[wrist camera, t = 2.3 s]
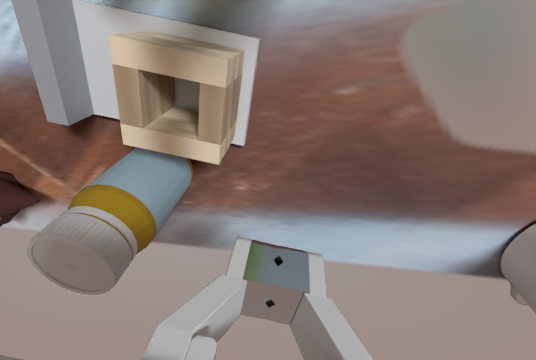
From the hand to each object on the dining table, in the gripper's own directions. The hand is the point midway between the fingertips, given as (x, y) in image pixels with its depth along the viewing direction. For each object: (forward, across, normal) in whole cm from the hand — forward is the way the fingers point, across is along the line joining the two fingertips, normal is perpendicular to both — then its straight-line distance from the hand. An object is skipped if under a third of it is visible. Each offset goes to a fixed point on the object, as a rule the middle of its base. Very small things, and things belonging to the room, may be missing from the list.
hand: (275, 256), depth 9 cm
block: (+18, +9, 0) cm, 20 cm away
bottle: (+19, +13, +10) cm, 25 cm away
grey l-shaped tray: (+19, +13, 0) cm, 23 cm away
